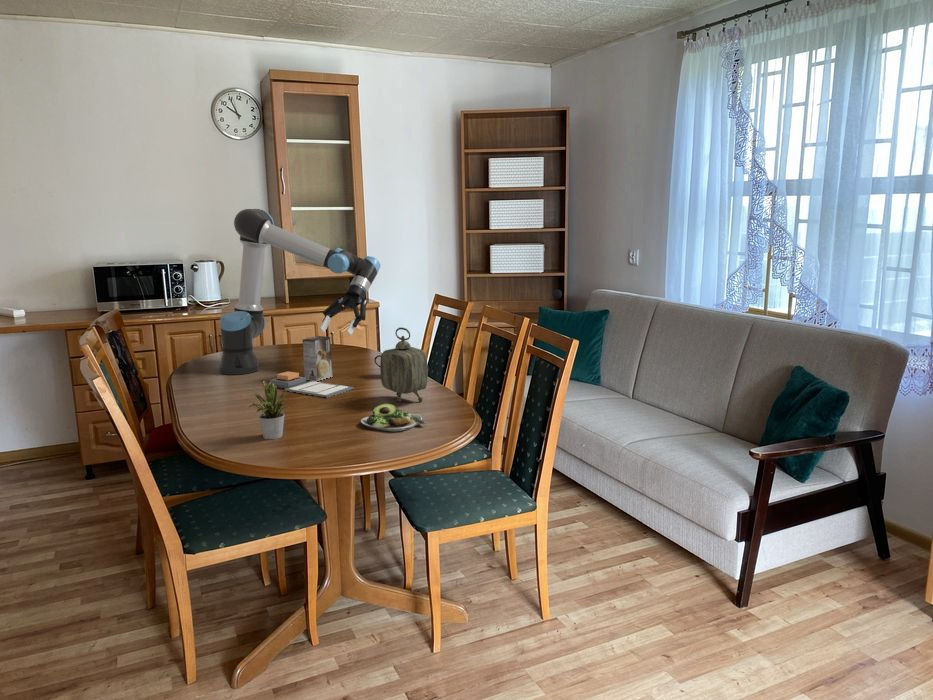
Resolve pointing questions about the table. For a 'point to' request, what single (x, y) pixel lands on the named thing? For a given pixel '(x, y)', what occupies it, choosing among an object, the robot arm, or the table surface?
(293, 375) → the button
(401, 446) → the table surface
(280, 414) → the house plant
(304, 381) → the button housing
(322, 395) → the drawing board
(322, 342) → the coffee box
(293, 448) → the table surface
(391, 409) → the salad plate
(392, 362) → the tabletop clock
